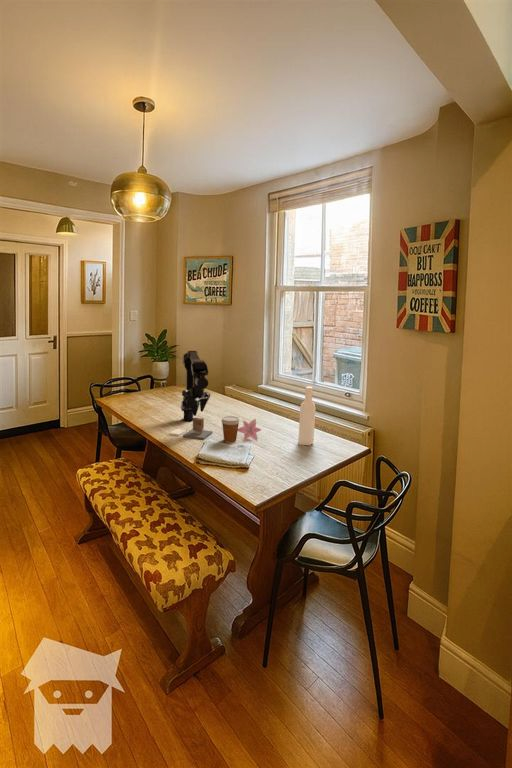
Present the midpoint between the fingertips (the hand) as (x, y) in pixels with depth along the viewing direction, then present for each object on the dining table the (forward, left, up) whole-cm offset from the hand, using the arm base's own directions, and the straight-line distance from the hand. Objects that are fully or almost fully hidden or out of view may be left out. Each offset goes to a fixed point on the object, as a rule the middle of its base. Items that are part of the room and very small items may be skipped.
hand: (198, 413), depth 225 cm
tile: (-2, -11, -12) cm, 16 cm away
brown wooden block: (0, 0, -11) cm, 11 cm away
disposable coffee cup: (+2, +19, -12) cm, 23 cm away
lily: (-5, +27, -12) cm, 30 cm away
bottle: (-9, +57, -12) cm, 59 cm away
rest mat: (0, 0, -12) cm, 12 cm away
